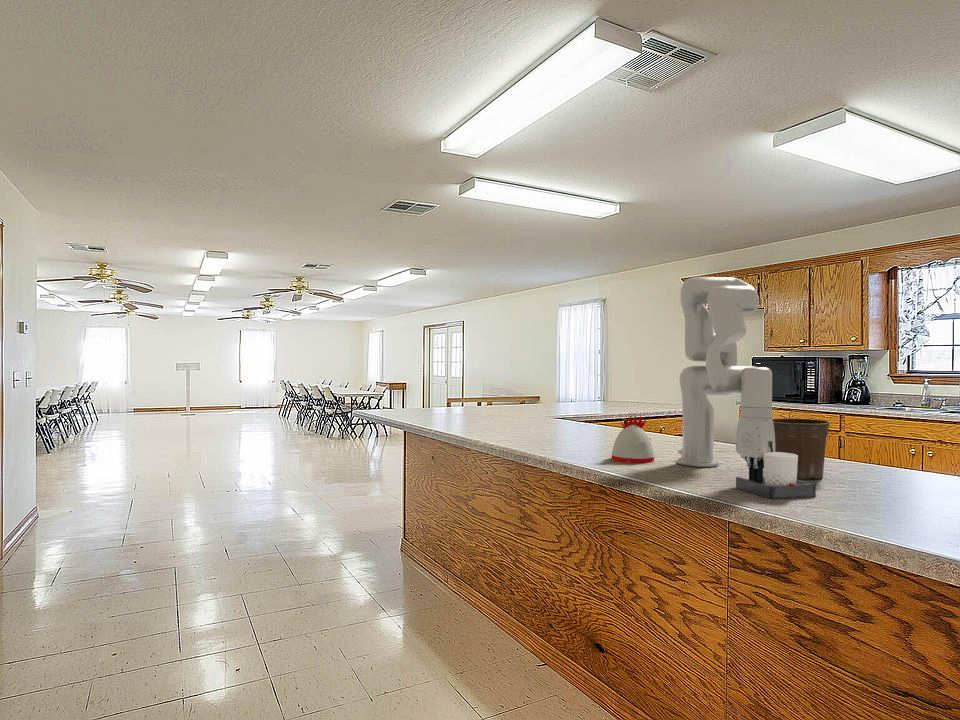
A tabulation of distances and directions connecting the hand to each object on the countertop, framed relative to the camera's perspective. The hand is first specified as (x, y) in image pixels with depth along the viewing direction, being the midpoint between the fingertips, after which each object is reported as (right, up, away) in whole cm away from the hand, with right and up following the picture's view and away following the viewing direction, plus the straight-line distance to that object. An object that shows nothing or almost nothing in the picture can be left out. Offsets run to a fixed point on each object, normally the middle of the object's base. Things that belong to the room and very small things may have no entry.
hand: (755, 482), depth 165 cm
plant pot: (+19, -1, +16) cm, 25 cm away
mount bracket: (+2, -1, -7) cm, 7 cm away
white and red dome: (-22, -1, +43) cm, 49 cm away
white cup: (+2, -1, -8) cm, 9 cm away
